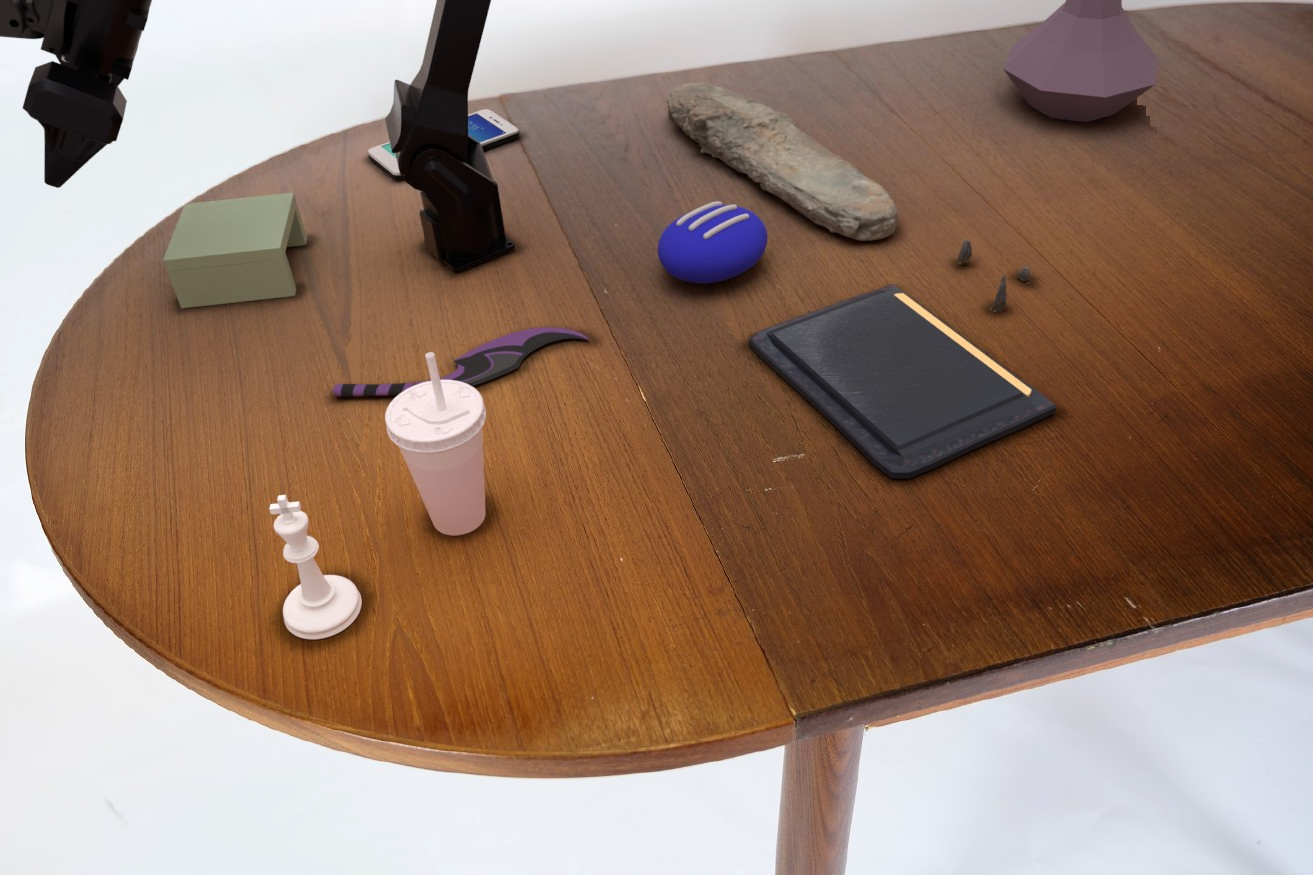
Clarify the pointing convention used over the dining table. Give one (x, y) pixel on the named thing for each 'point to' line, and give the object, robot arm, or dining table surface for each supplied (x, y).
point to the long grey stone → (783, 160)
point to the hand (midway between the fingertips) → (59, 159)
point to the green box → (234, 250)
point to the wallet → (899, 381)
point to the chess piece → (312, 581)
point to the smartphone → (480, 127)
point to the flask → (1082, 62)
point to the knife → (477, 361)
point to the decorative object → (712, 243)
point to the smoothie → (443, 448)
